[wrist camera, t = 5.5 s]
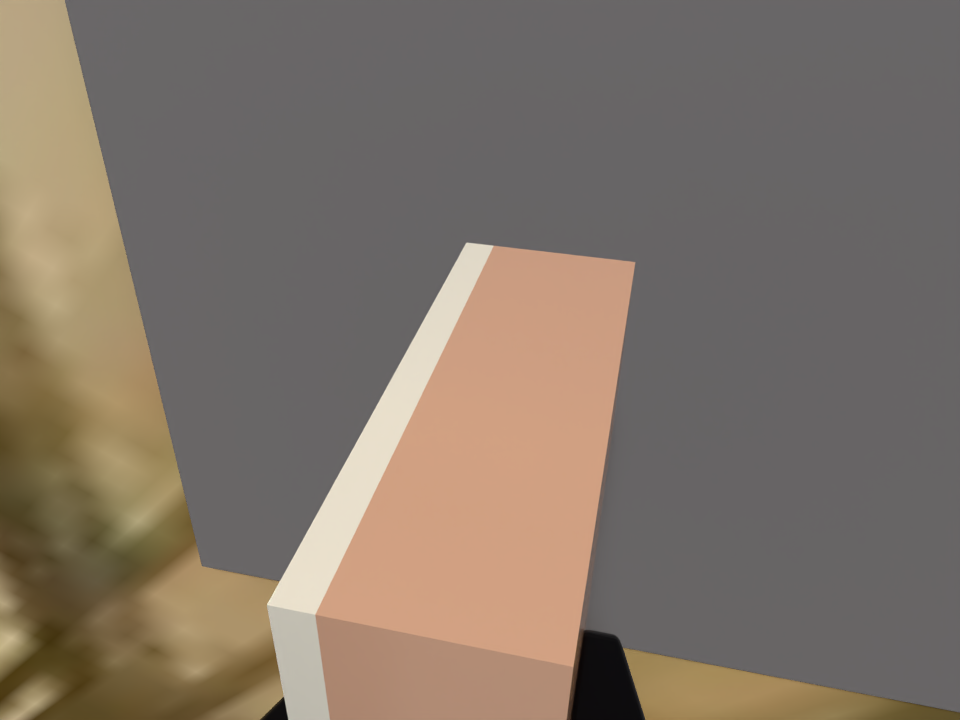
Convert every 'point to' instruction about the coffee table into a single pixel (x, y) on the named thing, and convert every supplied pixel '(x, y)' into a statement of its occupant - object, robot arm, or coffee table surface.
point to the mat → (584, 232)
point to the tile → (466, 506)
